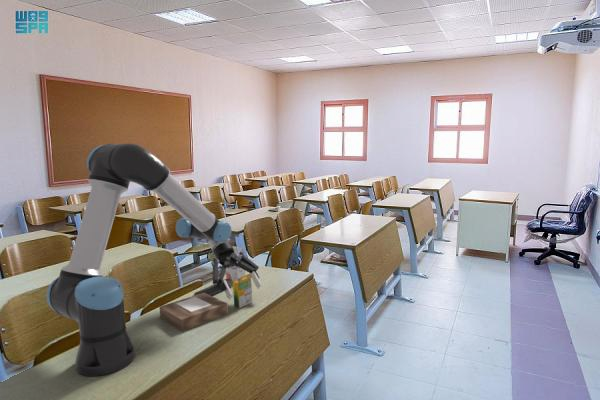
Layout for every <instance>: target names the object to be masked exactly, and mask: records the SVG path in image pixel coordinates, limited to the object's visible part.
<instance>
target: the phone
mask: <svg viewBox="0 0 600 400" xmlns="http://www.w3.org/2000/svg"><path fill="white" fill-rule="evenodd" d="M228 286H229V288H230V289H232V285H231V284H228ZM223 292H224V291H222V289H221V287H220V285H217V284H213V285H211V286H209V287H205V288H203V289H200V290H198V291H196V292H193V296H195V295H198V294H201V293H206V294H208V295H210V296H212V297H214V296H216V295H219V294H221V293H223Z"/></svg>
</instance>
